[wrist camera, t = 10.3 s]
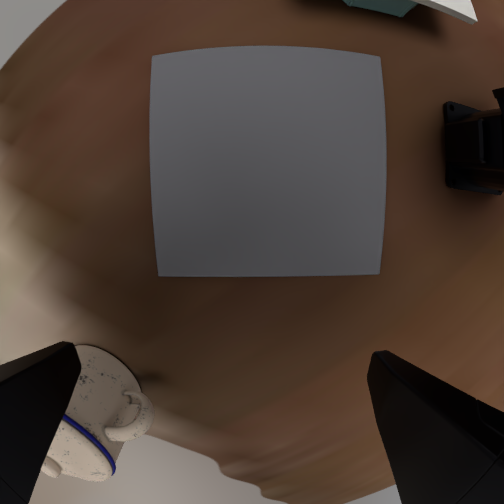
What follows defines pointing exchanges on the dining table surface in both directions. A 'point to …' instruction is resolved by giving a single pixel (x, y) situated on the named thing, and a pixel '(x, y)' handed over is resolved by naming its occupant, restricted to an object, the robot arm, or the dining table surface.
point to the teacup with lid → (98, 418)
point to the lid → (453, 8)
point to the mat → (267, 162)
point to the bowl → (385, 5)
